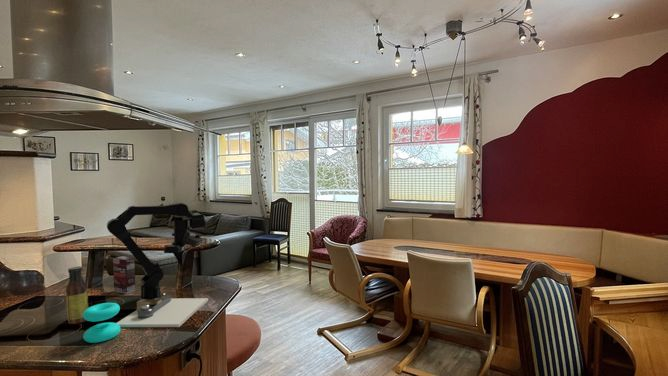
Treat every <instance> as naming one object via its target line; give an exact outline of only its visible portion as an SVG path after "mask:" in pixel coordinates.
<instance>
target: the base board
mask: <svg viewBox="0 0 668 376" xmlns="http://www.w3.org/2000/svg"><path fill="white" fill-rule="evenodd" d="M208 301H209V298H208V297H205V298H204V297H201V298H197V297H196V298H194V297H193V298H191V297H190V298H189V297H188V298H185V297H183V298H171V301H170V302H169V303H167V304H166V305H164V306H163V307H161V308H160V309H159V310H157V311H156V312H154V313H153V316H151V317H149V318H144V319H140V318H138V312H137V309H136V310H135V311H133V312H131V313H130V314H128V315H127V316H125V317H123V318H122V319H120V320H119V321H117V322H116V323H117V324H118V325H119V326H120V328H180V327H181V326H182V325H183V324H185V322H186V321H188V320H189V319H190V317H192V316H193V315H194V314H195V313H196V312H197V311H198V310H200V309H201V308H202V307H203V306H204V305H205V304H206V303H207V302H208Z"/></svg>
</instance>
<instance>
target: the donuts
mask: <svg viewBox="0 0 668 376" xmlns="http://www.w3.org/2000/svg"><path fill="white" fill-rule="evenodd" d="M120 309H121V307H120V305H119V304H118V303H116V302H103V303H97V304H94V305H92V306H88V308H87V309H86V310H85V311H84V312H83V318H84V319H85V320H86V322H95V323H96V322H101V323H98V324H96V325H93V326H90V327H89V328H87V329H86V331H84V334H83V340H84V341H85V342H87V343H90V344H91V343H92V344H94V343H103V342H105V341H108V340H111V339H114V338H115V337H116V336H118V334H120V333H121V328H122V327H120V326H119V325H118V324H117V322H113V321H112V322H111V321H109V322H102V321H106V320H109V319H112V318H113V317H115V316H116V315H118V313H119V312H120Z"/></svg>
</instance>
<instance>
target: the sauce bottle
mask: <svg viewBox="0 0 668 376" xmlns="http://www.w3.org/2000/svg"><path fill="white" fill-rule="evenodd" d="M67 272H68V276H69V277H68V278H69V281H68V283H67V284H66V288H65V293H66V295H65V299H66V315H67V322H68V324H70V325H78V324H82V323H84V322H87V320H85V319H84V318H83V312H84V311H85V310H86V309H87V308H89V295H88V286H87V284H86V282H85V281H84V278H83V266H73V267H69V268H68V269H67Z"/></svg>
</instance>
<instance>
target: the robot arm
mask: <svg viewBox="0 0 668 376" xmlns="http://www.w3.org/2000/svg"><path fill="white" fill-rule="evenodd" d="M146 215H147V216H148V215H149V216H150V215H168V216H169V215H170V216H171V217H170V218H169V219H168V222H173V233H171V237H173V242H171V244H169V245H167V246H165V247H164V248H163V253H164V254H173V255H174V258H175V259H176V260H177V262H178V263H179V265H180V266H182V265H184V262H185V257H186V255H187V252H188V251H189V250H191V249H190V248H191V247H192V248H197V247H200V246H199V245H200V243H201V242H202V237H201V234H199V233H198V234H196V235H191V232H190V231H188V228H190V230H199V229H205V227H206V220H205V215H204V214H203V213H200V214H192V213H191V212H190V211H189V206H188V205H187V204H186V203H183V202H176V203H175V202H174V203H170V204H164V205H144V206H143V205H141V206H138V205H137V206H135V205H129V206H128V207H127V208H126V209H125V210H124V211H123V212H122V213H120V214H119V215H118V216H116V217H115V218H112V219H110V220H108V221H107V224H106V228H107V230H108V232H109V233H110V234H111V235H112V236H114V237H115V238H116V239H118V240H119V241H120V242H122V244H123V245H124V247H125V248H127V251H129V252H130V253H131V254H132V255H133V258H135V260H136V261H137V262H138V263H139V264H140V266H141V267H142V268H143V271H144V273H145V275H144V276H143V277H142V278H140V281H141V284H142V285H141V286H140V296H141V297H140V299H139V300H141V299H159V298H160V297H162V294H161V287H160V282H161V281H162V280H163V278H164V268H163V267H161V266H160V264H159V263H158V261H157V260H154V261H152V260H150V259H149V258H148V256H147V255H146V254H145V253H144V251H143V250H142V249H141V248H140V246H139V245H138V244H137V243H136V242H135V240H134V239H133V238H132V237H131V235H130V233H129V231H128V229H127V227H126V226H127V225H128V223H129V222H130V221H131V220H132V219H133V218H134V217H135V216H146ZM176 216H177V217H176ZM183 217H184V218H183ZM188 245H189V246H191V247H188V248H187V247H186V246H188Z"/></svg>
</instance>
